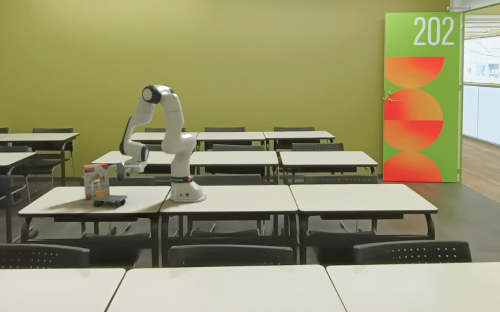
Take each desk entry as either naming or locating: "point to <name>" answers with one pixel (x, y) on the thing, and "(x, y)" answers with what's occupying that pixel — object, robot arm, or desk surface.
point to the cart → (107, 197)
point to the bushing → (120, 171)
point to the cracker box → (95, 178)
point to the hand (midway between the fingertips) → (119, 170)
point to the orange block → (100, 193)
